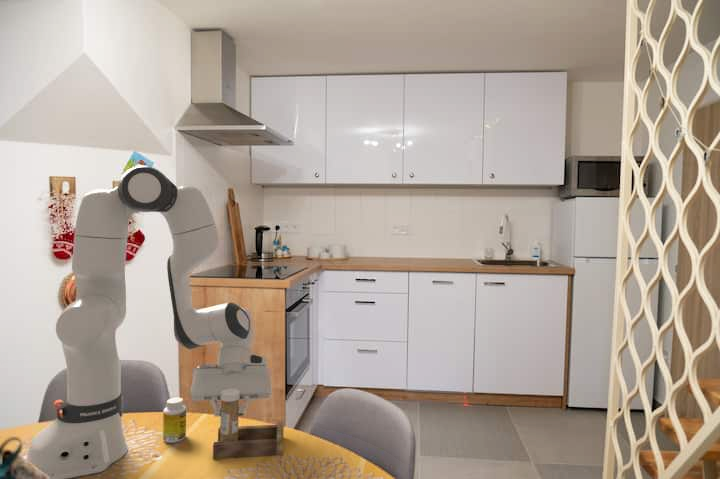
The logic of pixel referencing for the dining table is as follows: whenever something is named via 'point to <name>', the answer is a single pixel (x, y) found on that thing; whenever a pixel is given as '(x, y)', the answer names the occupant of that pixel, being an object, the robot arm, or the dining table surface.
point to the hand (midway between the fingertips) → (229, 415)
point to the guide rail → (252, 442)
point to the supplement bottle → (174, 421)
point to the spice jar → (229, 415)
